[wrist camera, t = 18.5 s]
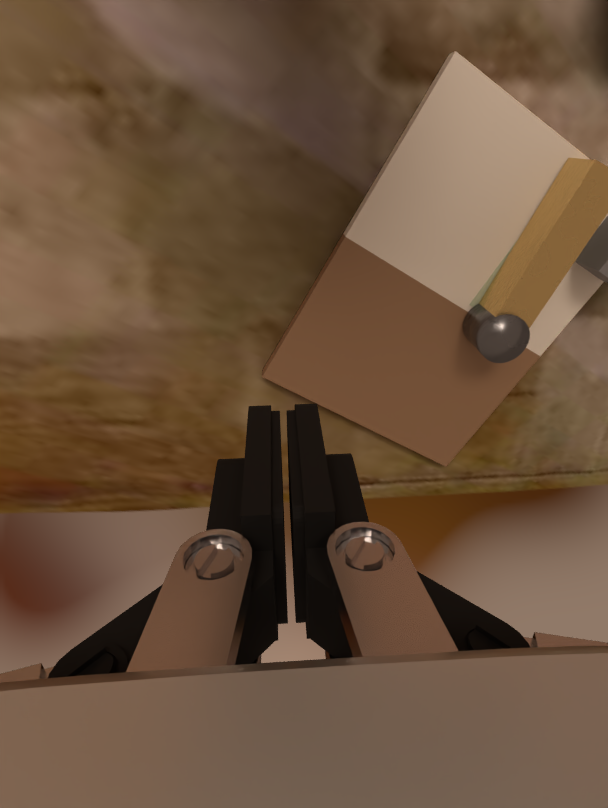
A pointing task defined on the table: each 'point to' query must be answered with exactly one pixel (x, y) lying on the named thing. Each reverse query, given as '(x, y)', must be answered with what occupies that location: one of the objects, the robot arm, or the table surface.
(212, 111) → the table surface
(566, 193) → the bar
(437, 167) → the door panel
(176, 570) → the robot arm
